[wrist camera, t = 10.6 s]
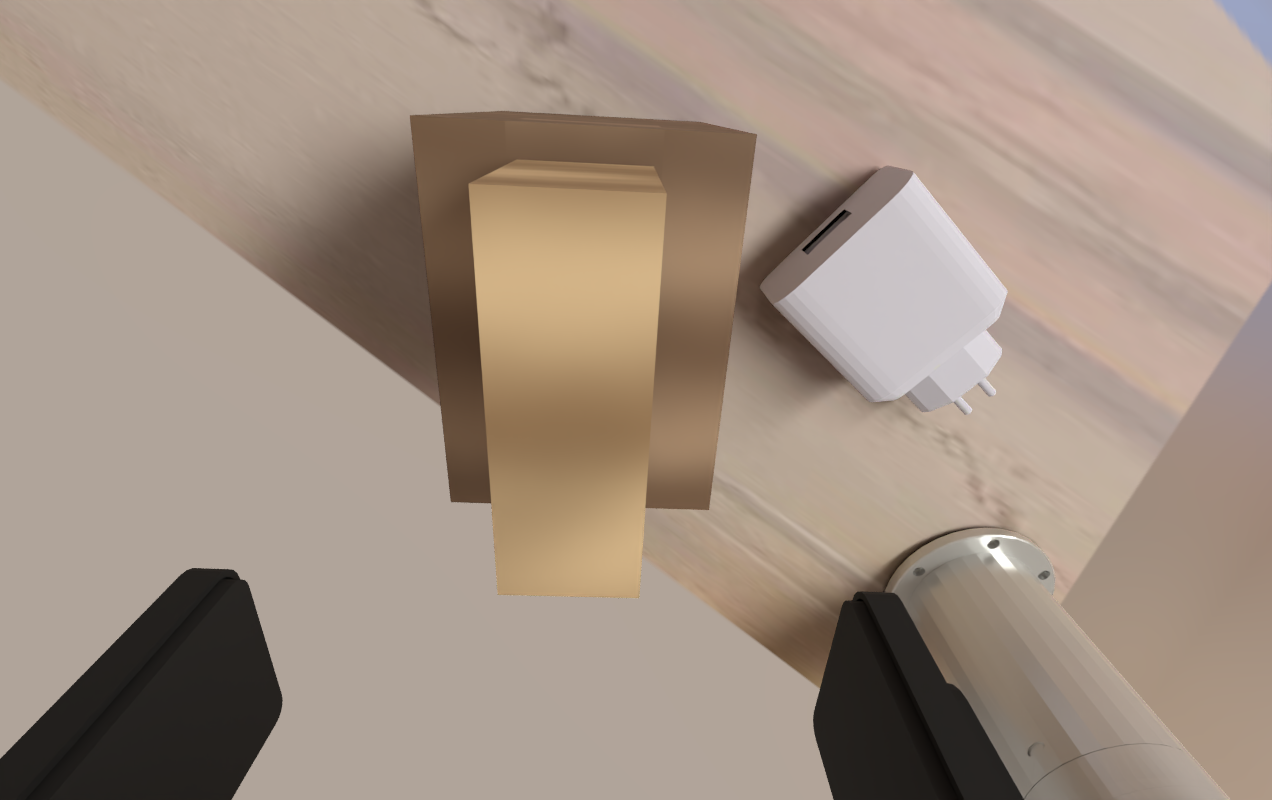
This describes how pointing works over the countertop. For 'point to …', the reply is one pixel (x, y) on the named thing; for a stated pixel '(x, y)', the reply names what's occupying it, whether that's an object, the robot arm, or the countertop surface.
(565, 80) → the countertop surface
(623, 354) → the tan rectangular block
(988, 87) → the countertop surface
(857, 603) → the robot arm
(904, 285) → the charger
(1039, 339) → the countertop surface
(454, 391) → the wooden crate
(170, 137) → the countertop surface
